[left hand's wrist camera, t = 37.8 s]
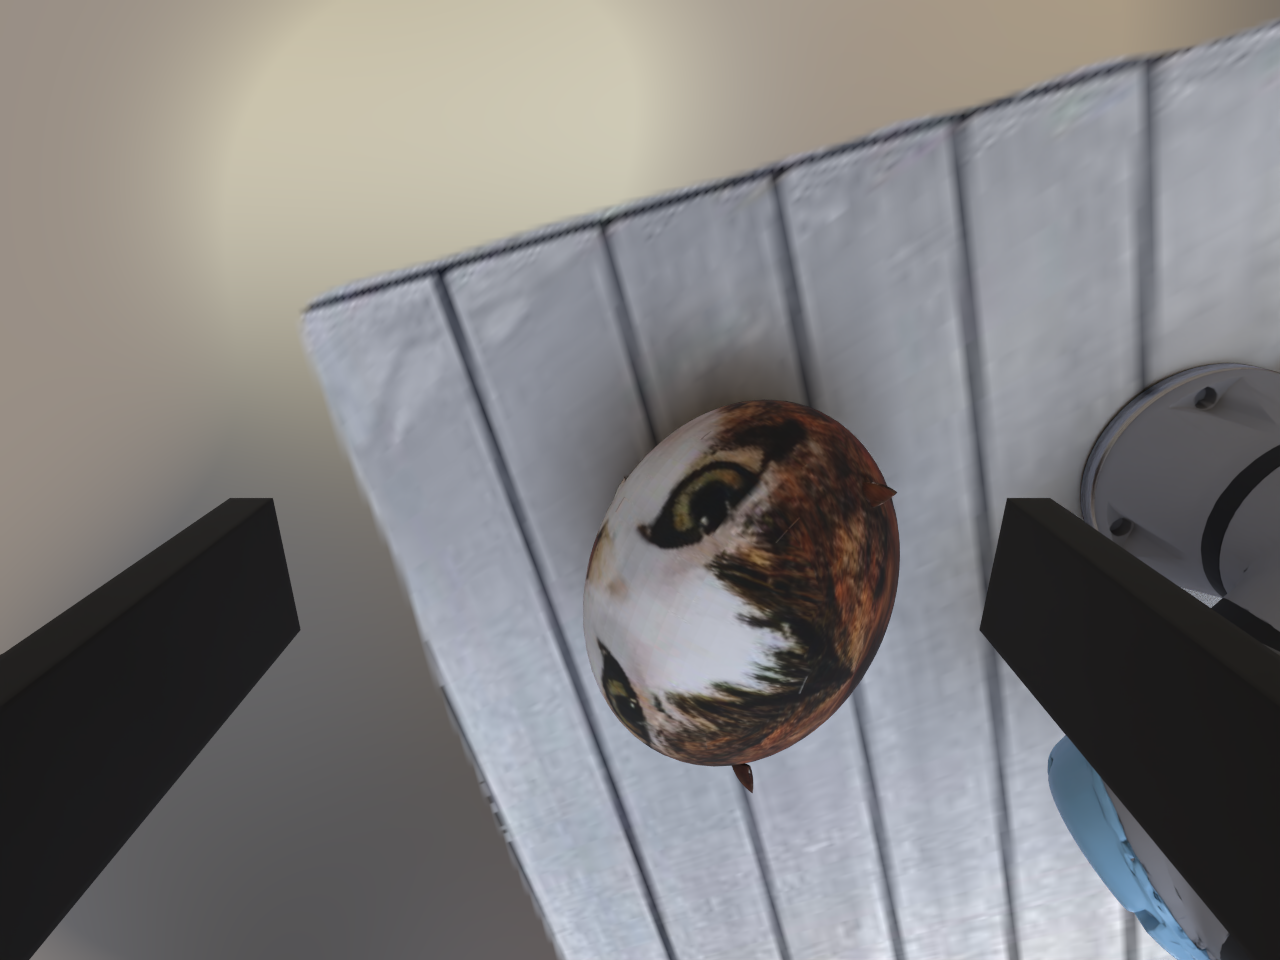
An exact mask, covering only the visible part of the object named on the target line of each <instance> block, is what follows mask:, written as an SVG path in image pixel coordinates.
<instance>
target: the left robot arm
mask: <svg viewBox="0 0 1280 960" xmlns="http://www.w3.org/2000/svg"><path fill="white" fill-rule="evenodd" d="M1081 508H1082V513H1083V518H1084V521H1085V522H1084V521H1083V520H1081V519H1080V518H1078V517H1077V516H1075V515H1074V514H1072V513H1071V512H1070V511H1068V510H1067V509H1065V508H1064V507H1062V506H1061V505H1059V504H1058V503H1056V502H1055V501H1053V500H1052V499H1051V498H1007V502H1006V506H1005V511H1004V516H1003V521H1002V525H1001V530H1000V535H999V540H998V544H997V549H996V554H995V559H994V563H993V568H992V573H991V578H990V583H989V587H988V592H987V597H986V602H985V606H984V611H983V616H982V621H981V625H980V631H981V632H982V633H983V635H984V636H985V637H986V638H987V640H988V641H989V642H990V643H991V644H992V646H993V647H994V648H995V649H996V651H997V652H998V653H999V654H1000V655H1001V657H1002V658H1003V659H1004V660H1005V661H1006V663H1007V664H1008V665H1009V666H1010V668H1011V669H1012V670H1013V671H1014V672H1015V674H1016V675H1017V676H1018V677H1019V678H1020V680H1021V681H1022V682H1023V683H1024V685H1025V686H1026V687H1027V688H1028V689H1029V691H1030V692H1031V693H1032V694H1033V695H1034V697H1035V698H1036V699H1037V700H1038V702H1039V703H1040V704H1041V705H1042V706H1043V708H1044V709H1045V710H1046V711H1047V713H1048V714H1049V715H1050V716H1051V717H1052V719H1053V720H1054V721H1055V722H1056V723H1057V725H1058V726H1059V727H1060V728H1061V730H1062V731H1063V732H1064V733H1065V734H1066V735H1065V736H1064V737H1063V738H1062V739H1061V740H1060V741H1059V742H1058V743H1057V744H1056V745H1055V746H1054V748H1053V749H1052V751H1051V753H1050V756H1049V759H1048V775H1049V776H1048V781H1049V786H1050V790H1051V793H1052V796H1053V799H1054V801H1055V804H1056V806H1057V808H1058V810H1059V812H1060V815H1061V817H1062V818H1063V820H1064V822H1065V824H1066V826H1067V828H1068V830H1069V831H1070V833H1071V835H1072V836H1073V838H1074V840H1075V841H1076V843H1077V845H1078V846H1079V848H1080V849H1081V851H1082V852H1083V854H1084V855H1085V857H1086V858H1087V860H1088V861H1089V863H1090V864H1091V866H1092V867H1093V868H1094V870H1095V871H1096V872H1097V874H1098V875H1099V877H1100V878H1101V879H1102V881H1103V882H1104V883H1105V885H1106V886H1107V887H1108V889H1109V890H1110V891H1111V892H1112V894H1113V895H1114V896H1115V897H1116V899H1117V900H1118V901H1119V902H1120V903H1121V904H1122V905H1123V906H1124V907H1125V909H1126V910H1127V911H1131V912H1134V913H1135V915H1136V917H1137V918H1138V920H1139V921H1140V923H1141V924H1142V926H1143V927H1144V929H1145V930H1146V932H1147V933H1148V934H1149V935H1150V936H1151V937H1152V938H1153V939H1154V940H1155V941H1156V942H1157V943H1158V944H1159V945H1160V946H1161V947H1162V948H1164V949H1165V950H1166V951H1167V952H1168V953H1169V954H1171V955H1172V956H1173V957H1174V958H1176V959H1177V960H1280V373H1278V372H1275V371H1271V370H1267V369H1263V368H1259V367H1255V366H1250V365H1245V364H1234V363H1229V364H1213V365H1206V366H1201V367H1197V368H1193V369H1190V370H1186V371H1184V372H1181V373H1178V374H1176V375H1173V376H1171V377H1169V378H1167V379H1165V380H1163V381H1161V382H1159V383H1157V384H1155V385H1154V386H1152V387H1150V388H1149V389H1147V390H1146V391H1144V392H1143V393H1141V394H1140V395H1139V396H1137V397H1136V398H1135V399H1134V400H1132V401H1131V402H1130V403H1129V404H1128V405H1127V406H1126V407H1125V408H1123V409H1122V410H1121V411H1120V412H1119V413H1118V415H1117V416H1116V417H1115V418H1114V419H1113V420H1112V421H1111V422H1110V424H1109V425H1108V426H1107V427H1106V429H1105V430H1104V432H1103V433H1102V435H1101V436H1100V438H1099V439H1098V441H1097V443H1096V444H1095V446H1094V448H1093V450H1092V452H1091V454H1090V457H1089V459H1088V461H1087V464H1086V467H1085V470H1084V475H1083V479H1082V486H1081ZM1180 587H1183V588H1186V589H1190V590H1194V591H1198V592H1202V593H1206V594H1209V595H1213V596H1217V597H1221V598H1222V599H1221V600H1220V601H1219V602H1218V603H1217V604H1215V605H1214V606H1213V607H1212V608H1210V607H1208V606H1207V605H1205V604H1204V603H1202V602H1201V601H1199V600H1198V599H1196V598H1195V597H1194V596H1192V595H1191V594H1189V593H1188V592H1186V591H1185V590H1183V589H1182V588H1180ZM299 631H300V625H299V621H298V616H297V611H296V606H295V602H294V597H293V592H292V587H291V583H290V578H289V573H288V568H287V564H286V559H285V554H284V549H283V544H282V540H281V535H280V530H279V525H278V521H277V516H276V511H275V506H274V502H273V498H229V499H228V500H227V501H225V502H224V503H222V504H221V505H219V506H218V507H216V508H215V509H213V510H212V511H210V512H209V513H208V514H206V515H205V516H203V517H202V518H200V519H199V520H197V521H196V522H194V523H193V524H192V525H190V526H189V527H187V528H186V529H184V530H183V531H181V532H180V533H178V534H177V535H176V536H174V537H173V538H171V539H170V540H168V541H167V542H165V543H164V544H162V545H161V546H159V547H158V548H157V549H155V550H154V551H152V552H151V553H149V554H148V555H146V556H145V557H143V558H142V559H140V560H139V561H138V562H136V563H135V564H133V565H132V566H130V567H129V568H127V569H126V570H124V571H123V572H122V573H120V574H119V575H117V576H116V577H114V578H113V579H111V580H110V581H108V582H107V583H106V584H104V585H103V586H101V587H100V588H98V589H97V590H95V591H94V592H92V593H91V594H90V595H88V596H87V597H85V598H84V599H82V600H81V601H79V602H78V603H76V604H75V605H73V606H72V607H71V608H69V609H68V610H66V611H65V612H63V613H62V614H60V615H59V616H57V617H56V618H54V619H53V620H52V621H50V622H49V623H47V624H46V625H44V626H43V627H41V628H40V629H38V630H37V631H35V632H34V633H33V634H31V635H30V636H28V637H27V638H25V639H24V640H22V641H21V642H19V643H18V644H16V645H15V646H14V647H12V648H11V649H9V650H8V651H6V652H5V653H3V654H1V655H0V960H29V959H30V958H31V957H32V956H33V954H34V953H35V952H36V951H37V950H38V948H39V947H40V946H41V945H42V944H43V942H44V941H45V940H46V939H47V937H48V936H49V935H50V934H51V932H52V931H53V930H54V929H55V928H56V926H57V925H58V924H59V923H60V922H61V920H62V919H63V918H64V917H65V916H66V914H67V913H68V912H69V911H70V909H71V908H72V907H73V906H74V905H75V903H76V902H77V901H78V900H79V899H80V897H81V896H82V895H83V894H84V892H85V891H86V890H87V889H88V888H89V886H90V885H91V884H92V883H93V881H94V880H95V879H96V878H97V877H98V875H99V874H100V873H101V872H102V871H103V869H104V868H105V867H106V866H107V864H108V863H109V862H110V861H111V860H112V858H113V857H114V856H115V855H116V854H117V852H118V851H119V850H120V849H121V847H122V846H123V845H124V844H125V843H126V841H127V840H128V839H129V838H130V837H131V835H132V834H133V833H134V832H135V830H136V829H137V828H138V827H139V826H140V824H141V823H142V822H143V821H144V819H145V818H146V817H147V816H148V815H149V813H150V812H151V811H152V810H153V808H154V807H155V806H156V805H157V804H158V802H159V801H160V800H161V799H162V798H163V796H164V795H165V794H166V793H167V791H168V790H169V789H170V788H171V787H172V785H173V784H174V783H175V782H176V781H177V779H178V778H179V777H180V776H181V774H182V773H183V772H184V771H185V770H186V768H187V767H188V766H189V765H190V764H191V762H192V761H193V760H194V759H195V757H196V756H197V755H198V754H199V753H200V751H201V750H202V749H203V748H204V747H205V745H206V744H207V743H208V742H209V740H210V739H211V738H212V737H213V736H214V734H215V733H216V732H217V731H218V730H219V728H220V727H221V726H222V725H223V723H224V722H225V721H226V720H227V719H228V717H229V716H230V715H231V714H232V713H233V711H234V710H235V709H236V708H237V706H238V705H239V704H240V703H241V702H242V700H243V699H244V698H245V697H246V695H247V694H248V693H249V692H250V691H251V689H252V688H253V687H254V686H255V684H256V683H257V682H258V681H259V680H260V678H261V677H262V676H263V675H264V674H265V672H266V671H267V670H268V669H269V668H270V666H271V665H272V664H273V663H274V661H275V660H276V659H277V658H278V657H279V655H280V654H281V653H282V652H283V651H284V649H285V648H286V647H287V646H288V644H289V643H290V642H291V641H292V640H293V638H294V637H295V636H296V635H297V633H298V632H299Z"/></svg>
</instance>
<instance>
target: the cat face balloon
mask: <svg viewBox="0 0 1280 960" xmlns="http://www.w3.org/2000/svg"><path fill="white" fill-rule="evenodd" d="M896 493H897V492H896V491H895V490H893V489H891V488H890V487H888V486H887V485H886V482H885V480H884V477H883V475H882V473H881V471H880V470H879V468H878V466H877V464H876V462H875V461H874V459H873V458H872V457H871V455H870V454H869V452H868V451H867V450H866V448H865V447H864V445H863V444H862V443H861V442H860V441H859V440H858V439H857V438H856V437H855V436H854V435H853V434H852V433H851V432H850V431H849V430H847V429H846V428H845V427H844V426H842V425H841V424H840V423H839V422H837V421H836V420H834V419H832V418H830V417H829V416H827V415H825V414H823V413H822V412H820V411H817V410H815V409H812V408H810V407H807V406H804V405H800V404H796V403H792V402H787V401H777V400H754V401H745V402H739V403H735V404H731V405H727V406H723V407H720V408H718V409H715V410H713V411H710V412H708V413H705V414H703V415H700V416H699V417H697V418H695V419H693V420H691V421H690V422H688V423H686V424H685V425H683V426H681V427H680V428H678V429H677V430H675V431H674V432H672V433H671V434H670V435H669V436H667V437H666V438H665V439H664V440H662V441H661V442H660V443H659V444H658V445H657V446H656V447H655V448H654V449H653V450H652V451H651V452H650V453H648V454H647V455H646V456H645V457H644V458H643V460H642V461H641V462H640V463H639V464H638V465H637V467H636V468H635V469H634V470H633V471H632V473H631V474H630V475H629V477H628V478H627V479H626V481H625V477H624V479H623V481H622V482H621V484H620V486H619V487H618V489H617V492H616V494H615V497H614V500H613V502H612V503H611V505H610V507H609V508H608V511H607V513H606V515H605V517H604V519H603V522H602V524H601V526H600V528H599V531H598V534H597V537H596V539H595V542H594V545H593V549H592V552H591V556H590V560H589V564H588V568H587V575H586V581H585V588H584V599H583V625H584V635H585V642H586V649H587V653H588V657H589V661H590V665H591V668H592V671H593V674H594V677H595V679H596V682H597V684H598V686H599V689H600V691H601V693H602V695H603V696H604V698H605V700H606V702H607V703H608V705H609V707H610V708H611V710H612V711H613V713H614V714H615V715H616V717H617V718H618V719H619V721H620V722H621V723H622V724H623V725H624V726H625V727H626V728H627V729H628V730H629V731H630V732H631V733H632V734H633V735H634V736H635V737H637V738H638V739H639V740H641V741H642V742H643V743H645V744H646V745H647V746H649V747H650V748H652V749H654V750H656V751H657V752H659V753H661V754H663V755H666V756H668V757H671V758H674V759H676V760H679V761H682V762H686V763H690V764H695V765H704V766H730V765H732V767H733V770H734V772H735V774H736V776H737V778H738V779H739V780H740V782H741V783H742V784H743V785H744V786H745V787H746V788H747V789H748V790H749V791H750V792H751V793H753V775H752V770H751V767H750V766H749V765H747V764H745V763H748V762H753V761H756V760H759V759H763V758H765V757H768V756H771V755H773V754H776V753H778V752H780V751H782V750H784V749H786V748H789V747H790V746H792V745H793V744H795V743H797V742H798V741H800V740H802V739H803V738H805V737H806V736H808V735H809V734H810V733H812V732H813V731H814V730H816V729H817V728H818V727H819V726H820V725H822V724H823V723H824V722H825V721H826V720H828V719H829V718H830V717H831V716H832V715H833V714H834V713H835V712H836V711H837V710H838V708H839V707H840V706H841V705H842V704H843V703H844V702H845V701H846V699H847V698H848V697H849V696H850V694H851V693H852V692H853V690H854V689H855V688H856V686H857V685H858V684H859V682H860V681H861V680H862V678H863V676H864V675H865V673H866V671H867V669H868V668H869V666H870V664H871V663H872V661H873V659H874V657H875V655H876V653H877V651H878V649H879V647H880V645H881V642H882V640H883V637H884V635H885V632H886V629H887V626H888V623H889V620H890V617H891V614H892V610H893V606H894V602H895V597H896V592H897V585H898V577H899V563H900V543H899V532H898V524H897V518H896V513H895V509H894V505H893V501H892V497H893V496H894V495H895V494H896Z"/></svg>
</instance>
